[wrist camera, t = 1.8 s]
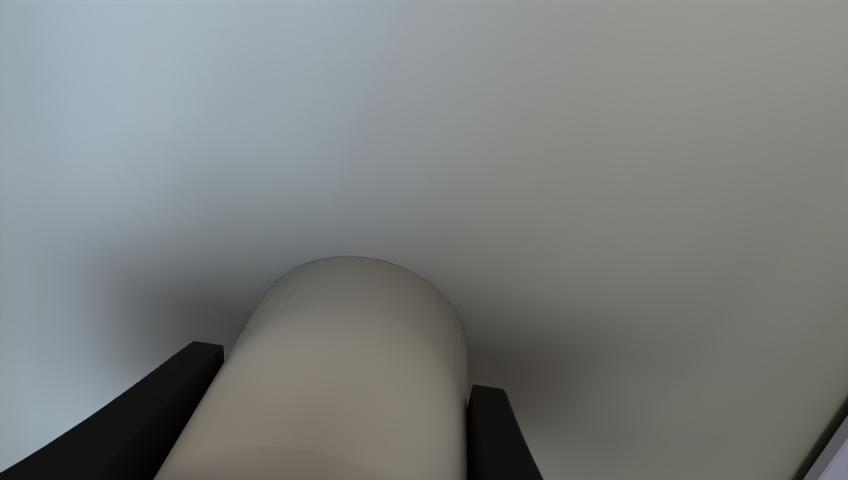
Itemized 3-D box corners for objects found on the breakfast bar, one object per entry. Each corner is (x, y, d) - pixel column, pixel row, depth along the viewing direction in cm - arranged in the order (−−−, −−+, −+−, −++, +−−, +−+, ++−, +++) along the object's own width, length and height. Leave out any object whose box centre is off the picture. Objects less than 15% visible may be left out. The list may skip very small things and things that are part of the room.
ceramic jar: (486, 276, 11) (498, 479, 7) (448, 442, 14) (440, 673, 9) (251, 240, 11) (113, 419, 7) (253, 412, 14) (151, 628, 9)
